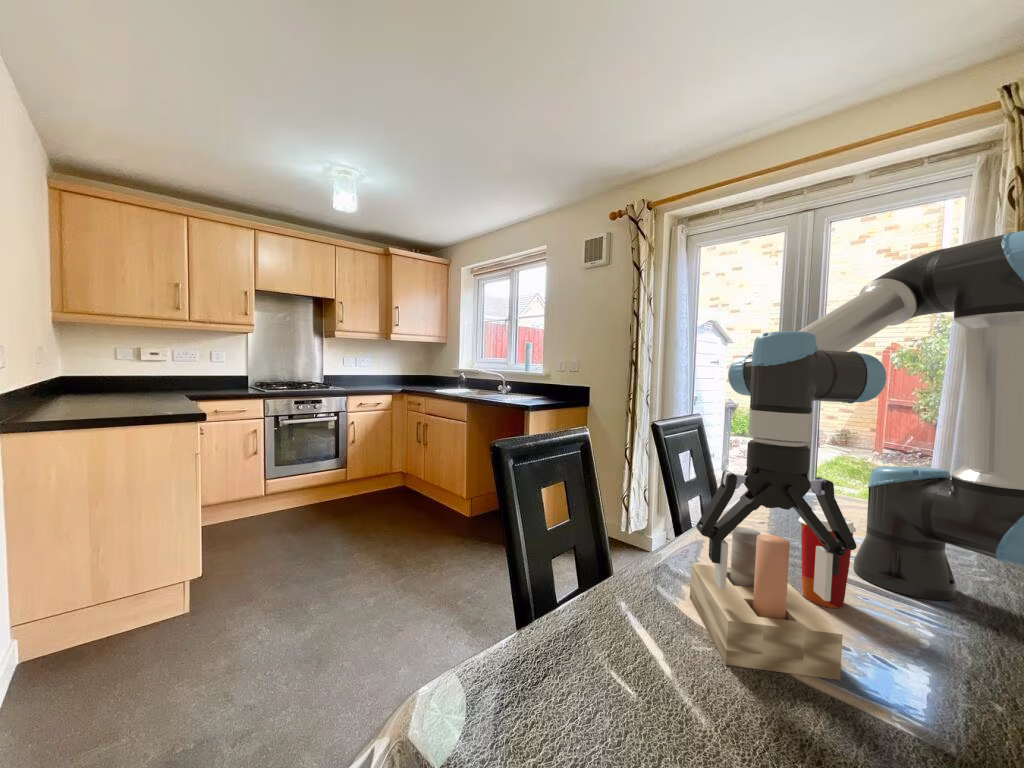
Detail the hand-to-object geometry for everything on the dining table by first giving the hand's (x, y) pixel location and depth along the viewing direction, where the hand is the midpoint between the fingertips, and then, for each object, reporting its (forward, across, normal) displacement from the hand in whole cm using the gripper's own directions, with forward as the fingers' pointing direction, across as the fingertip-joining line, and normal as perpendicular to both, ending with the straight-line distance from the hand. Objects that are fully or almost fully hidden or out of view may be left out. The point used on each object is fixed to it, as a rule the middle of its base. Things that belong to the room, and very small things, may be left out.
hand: (769, 590), depth 61 cm
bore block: (+9, 0, -4) cm, 10 cm away
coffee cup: (+9, -17, -18) cm, 27 cm away
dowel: (+7, 0, 0) cm, 7 cm away
